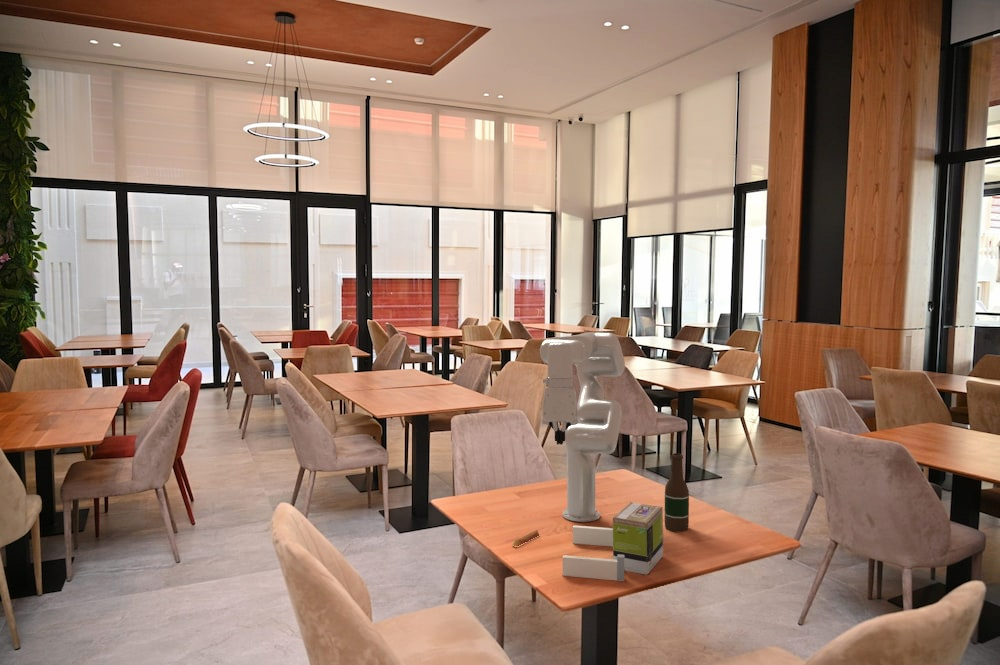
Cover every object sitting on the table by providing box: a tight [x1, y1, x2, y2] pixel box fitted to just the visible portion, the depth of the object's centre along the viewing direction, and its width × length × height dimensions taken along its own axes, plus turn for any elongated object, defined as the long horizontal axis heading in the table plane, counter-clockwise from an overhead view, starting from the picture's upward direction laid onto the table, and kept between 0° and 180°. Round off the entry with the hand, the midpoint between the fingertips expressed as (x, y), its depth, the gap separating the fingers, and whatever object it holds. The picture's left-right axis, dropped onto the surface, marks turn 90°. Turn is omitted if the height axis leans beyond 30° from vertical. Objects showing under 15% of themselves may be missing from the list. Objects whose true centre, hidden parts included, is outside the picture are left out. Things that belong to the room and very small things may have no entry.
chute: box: [562, 525, 625, 582], centre depth 189 cm, size 25×16×6 cm, turn 167°
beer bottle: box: [664, 453, 690, 533], centre depth 214 cm, size 8×8×24 cm
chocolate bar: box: [512, 529, 540, 546], centre depth 204 cm, size 3×12×2 cm, turn 142°
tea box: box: [612, 502, 664, 576], centre depth 187 cm, size 15×10×15 cm, turn 150°
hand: (560, 443), depth 202 cm, fingers closed
